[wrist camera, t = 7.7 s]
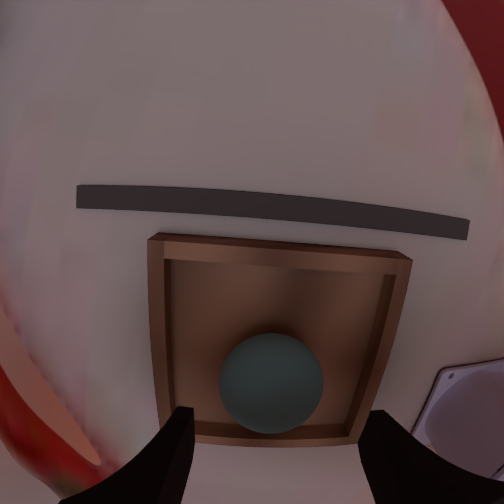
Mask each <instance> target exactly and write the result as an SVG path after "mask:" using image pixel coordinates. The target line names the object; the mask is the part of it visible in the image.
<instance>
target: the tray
mask: <svg viewBox="0 0 504 504" xmlns="http://www.w3.org/2000/svg"><path fill="white" fill-rule="evenodd" d="M412 262H413V260H412V259H410V258H409V257H407V256H405V255H403V254H402V253H400V252H398V251H389V250H378V249H366V248H355V247H343V246H331V245H319V244H307V243H295V242H282V241H269V240H256V239H243V238H230V237H216V236H202V235H188V234H173V233H159V232H158V233H157V234H155V235H154V236H152V237H151V238H149V239H148V240H147V267H148V304H149V324H150V340H151V353H152V365H153V375H154V385H155V394H156V402H157V410H158V418H159V425H160V429H161V428H162V427H163V426H164V424H165V423H166V422H167V420H168V419H169V417H170V416H171V414H172V413H173V411H174V410H175V408H176V407H177V406H185V407H192V408H194V425H195V442H196V443H205V444H215V445H228V446H244V447H320V446H336V445H348V444H357V442H358V439H359V437H360V435H361V432H362V430H363V427H364V425H365V422H366V420H367V417H368V415H369V412H370V410H371V407H372V405H373V402H374V399H375V396H376V394H377V391H378V388H379V385H380V382H381V379H382V376H383V373H384V370H385V367H386V364H387V361H388V358H389V355H390V351H391V348H392V345H393V341H394V338H395V334H396V331H397V327H398V323H399V319H400V316H401V312H402V308H403V304H404V299H405V295H406V291H407V286H408V282H409V277H410V272H411V267H412ZM267 333H277V334H283V335H287V336H290V337H293V338H295V339H297V340H299V341H301V342H302V343H303V344H305V345H306V346H307V347H308V348H309V349H310V350H311V351H312V352H313V353H314V355H315V356H316V358H317V359H318V361H319V363H320V366H321V369H322V373H323V380H324V386H323V393H322V397H321V399H320V402H319V404H318V406H317V408H316V410H315V411H314V412H313V414H312V415H311V416H310V417H309V418H308V419H307V420H306V421H305V422H303V423H302V424H301V425H299V426H297V427H295V428H293V429H291V430H289V431H286V432H282V433H274V434H267V433H260V432H256V431H252V430H250V429H248V428H246V427H244V426H242V425H241V424H239V423H238V422H237V421H236V420H234V419H233V418H232V417H231V415H230V414H229V413H228V412H227V410H226V408H225V407H224V405H223V402H222V400H221V397H220V392H219V376H220V371H221V368H222V366H223V363H224V361H225V359H226V358H227V356H228V355H229V354H230V352H231V351H232V350H233V349H234V348H235V347H236V346H238V345H239V344H240V343H241V342H243V341H245V340H246V339H248V338H251V337H253V336H257V335H260V334H267Z"/></svg>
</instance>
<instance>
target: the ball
mask: <svg viewBox="0 0 504 504" xmlns="http://www.w3.org/2000/svg"><path fill="white" fill-rule="evenodd" d="M323 386H324V380H323V373H322V369H321V366H320V363H319V361H318V359H317V358H316V356H315V355H314V353H313V352H312V351H311V350H310V349H309V348H308V347H307V346H306V345H305V344H303V343H302V342H301V341H299V340H297V339H295V338H293V337H290V336H287V335H283V334H277V333H267V334H260V335H257V336H253V337H251V338H248V339H246V340H245V341H243V342H241V343H240V344H239V345H238V346H236V347H235V348H234V349H233V350H232V351H231V352H230V354H229V355H228V356H227V358H226V359H225V361H224V363H223V366H222V368H221V371H220V376H219V392H220V397H221V400H222V402H223V405H224V407H225V408H226V410H227V412H228V413H229V414H230V415H231V417H232V418H233V419H234V420H236V421H237V422H238V423H239V424H241V425H242V426H244V427H246V428H248V429H250V430H252V431H256V432H260V433H267V434H274V433H282V432H286V431H289V430H291V429H293V428H295V427H297V426H299V425H301V424H302V423H303V422H305V421H306V420H307V419H308V418H309V417H310V416H311V415H312V414H313V412H314V411H315V410H316V408H317V406H318V404H319V402H320V399H321V397H322V393H323Z"/></svg>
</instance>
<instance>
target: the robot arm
mask: <svg viewBox="0 0 504 504" xmlns="http://www.w3.org/2000/svg"><path fill="white" fill-rule="evenodd" d="M357 443H358V448H359V454H360V458H361V463H362V466H363V469H364V472H365V474H366V477H367V480H368V483H369V486H370V489H371V491H372V494H373V497H374V500H375V503H376V504H504V359H501V360H496V361H491V362H485V363H479V364H473V365H467V366H460V367H453V368H446V369H443V370H442V371H441V372H440V374H439V376H438V378H437V380H436V383H435V385H434V388H433V390H432V392H431V394H430V397H429V399H428V401H427V403H426V405H425V408H424V410H423V412H422V414H421V416H420V418H419V420H418V422H417V424H416V426H415V428H414V430H413V432H412V434H410V433H409V432H408V431H406V430H405V429H404V428H403V427H402V426H401V425H400V424H399V423H398V422H397V421H395V420H394V419H393V418H392V417H391V416H390V415H389V414H388V413H387V412H385V411H384V410H374V411H370V413H369V416H368V418H367V421H366V423H365V426H364V428H363V431H362V433H361V435H360V438H359V440H358V442H357ZM429 444H432V445H433V447H434V448H435V450H436V452H437V453H438V455H439V456H438V455H437V454H435V453H434V452H433V451H431V450H430V449H428V448H427V447H426V446H425V445H429ZM194 446H195V425H194V408H192V407H185V406H177V407H176V408H175V410H174V411H173V413H172V414H171V416H170V417H169V419H168V420H167V422H166V423H165V424H164V426H163V427H162V428H161V429H160V431H159V432H158V433H157V434H156V435H155V437H154V438H153V439H152V440H151V441H150V442H149V443H148V444H147V445H146V446H145V447H144V448H143V449H142V450H141V451H140V452H139V453H138V454H137V455H136V456H135V457H134V458H133V459H132V460H131V461H130V462H128V463H127V464H126V465H125V466H123V467H122V468H121V469H119V470H118V471H117V472H115V473H114V474H112V475H111V476H110V477H108V478H107V479H105V480H103V481H102V482H100V483H98V484H96V485H94V486H92V487H91V488H89V489H87V490H85V491H83V492H81V493H78V494H76V495H73V496H71V497H68V498H66V499H63V500H61V501H60V502H59V503H58V504H181V501H182V497H183V494H184V490H185V486H186V483H187V479H188V475H189V472H190V468H191V464H192V460H193V453H194Z"/></svg>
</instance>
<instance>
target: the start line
mask: <svg viewBox="0 0 504 504" xmlns="http://www.w3.org/2000/svg"><path fill="white" fill-rule="evenodd" d="M76 208H88V209H115V210H138V211H158V212H176V213H193V214H208V215H223V216H237V217H250V218H263V219H275V220H287V221H298V222H309V223H320V224H331V225H341V226H350V227H360V228H369V229H379V230H387V231H396V232H405V233H413V234H421V235H429V236H437V237H445V238H452V239H460V240H467V236H468V229H469V223H470V220H466V219H461V218H455V217H449V216H444V215H438V214H432V213H426V212H419V211H413V210H406V209H400V208H393V207H386V206H378V205H371V204H363V203H355V202H347V201H339V200H330V199H321V198H312V197H302V196H292V195H281V194H270V193H258V192H245V191H231V190H216V189H199V188H179V187H154V186H111V185H78V186H77V197H76Z"/></svg>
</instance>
